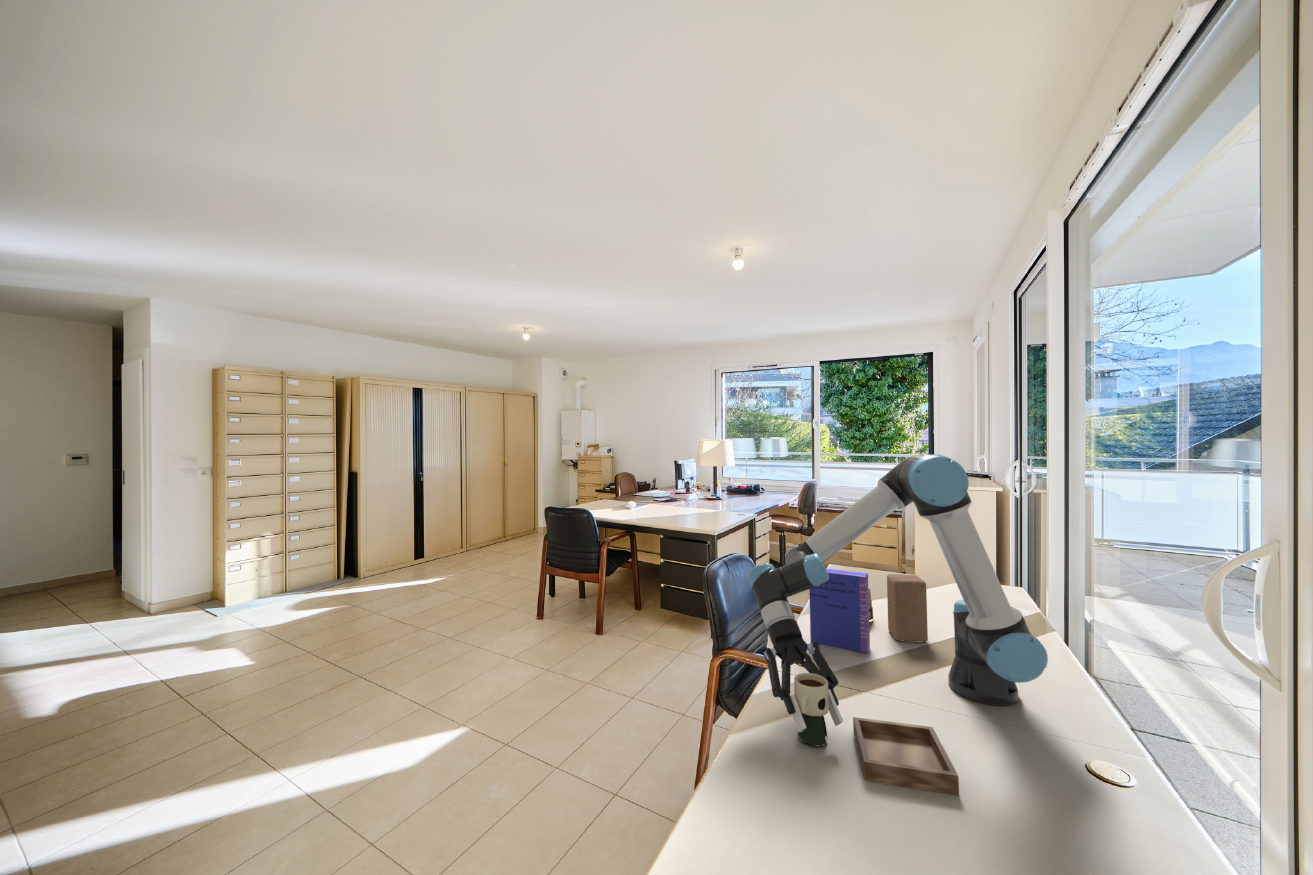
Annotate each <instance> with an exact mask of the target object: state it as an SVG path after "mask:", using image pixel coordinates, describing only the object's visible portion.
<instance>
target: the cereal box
mask: <svg viewBox="0 0 1313 875" xmlns="http://www.w3.org/2000/svg"><path fill="white" fill-rule="evenodd" d="M825 569H826V571H827V573H828V575H829V580H828V581H827V582H825V583H823V584H821V585H819V586H816V587H813V588H810V589H808V591H809V627H810V630H809V634H810V636H809V637H810V644H813V643H814V642H816V643H818V645H819V646H820V645H821V646H826V647H831V648H835V649H840V650H846V651H851V652H855V651H856V652H857V653H861V654H865V653H866V654H867V655H868V654H869V652H868V651H870V650H869V649H871V636H870V634H871V633H870V631H871V630H870V623H869V591H868V589H869V573H867V572H865V573H864V572H859V571H858V572H857V571H849V570H840V569H831V568H825Z"/></svg>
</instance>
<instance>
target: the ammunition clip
mask: <svg viewBox="0 0 1313 875" xmlns="http://www.w3.org/2000/svg"><path fill="white" fill-rule="evenodd" d="M868 591H869V620H871V619H873V620H874V609H873V608H874V607H872V606H873V604H872V602H873V601H872V594H871V592H872V591H871V589H870V588H868Z"/></svg>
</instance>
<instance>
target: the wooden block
mask: <svg viewBox="0 0 1313 875" xmlns="http://www.w3.org/2000/svg"><path fill="white" fill-rule="evenodd" d="M886 590H887V591H886V595H887V598H886V599H887V627H888V628H887V629H888V631H889V633H890V632H891V633H892V634H891V633H890V634H891V635H892V637H893V636H894V637H893V638H894V639H895V640H896V641H897V640H901V641H900V642H908V641H920V642H919V643H924V642H925V643H927V642H928V641H929V640H928V639H929V638H928V637H929V635H928V634H929V633H928V602H927V601H928V600H927V598H928V597H927V594H928V593H927V583H926V582H925V580H923V579H922V578H920V577H919V576H918V575H916V574H901V573H900V574H897V573H896V574H895V573H894V574H893V573H889V574H887V575H886ZM902 640H904V641H902ZM921 641H922V642H921ZM926 641H927V642H926Z"/></svg>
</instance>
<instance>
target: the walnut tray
mask: <svg viewBox="0 0 1313 875" xmlns="http://www.w3.org/2000/svg"><path fill="white" fill-rule="evenodd" d="M852 722H853V724H852V725H853V727H852V728H853V731H852V732H853V737H854V741H855V746H856V748H857V754H858V758H859V762H860V766H861V771H862V774H863V779H864V781H865V782H866V781H867V782H872V783H878V784H884V785H885V784H886V785H891V786H898V787H904V788H908V789H909V788H910V789H916V790H921V791H922V790H924V791H929V792H934V793H941V794H942V793H943V794H947V795H948V794H949V795H953V796H960V789H959V788H960V785H959V784H960V782H959V780H960V779H959V774H958V772H957V771H956V768H955V766H954V765H953V763H952V761H951V759H950V757H949V755H948V753H947V751H946V749H945V748H944V746H943V744H942V741H941V740H940V739H939V736H938V735H937V733H936V731H935V729H934V727H933V726H926V725H921V724H912V723H903V722H894V721H887V720H881V719H871V718H862V717H856V716H855V717H854V716H853V717H852Z"/></svg>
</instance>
